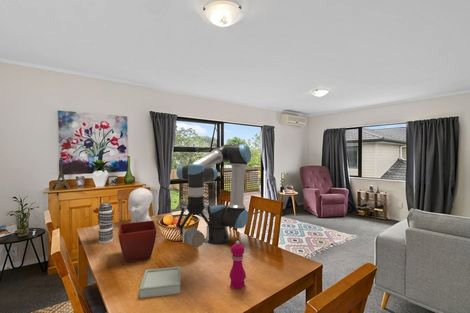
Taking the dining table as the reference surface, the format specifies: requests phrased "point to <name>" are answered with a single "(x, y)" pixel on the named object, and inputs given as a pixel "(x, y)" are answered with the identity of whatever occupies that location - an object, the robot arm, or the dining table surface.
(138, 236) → the plant pot
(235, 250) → the pepper mill
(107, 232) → the decorative candle
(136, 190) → the head sculpture
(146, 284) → the display plinth
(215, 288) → the dining table surface
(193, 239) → the ceramic mug
